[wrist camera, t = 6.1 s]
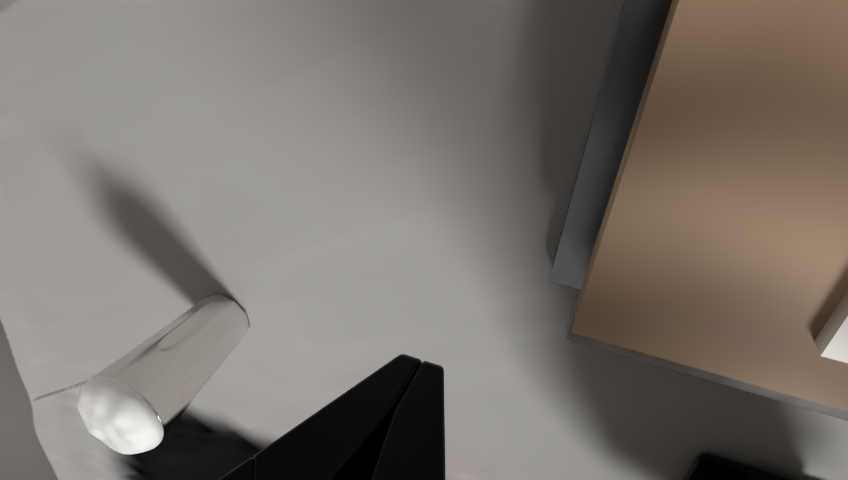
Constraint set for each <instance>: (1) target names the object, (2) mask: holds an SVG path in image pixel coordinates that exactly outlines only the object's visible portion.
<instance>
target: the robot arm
mask: <svg viewBox="0 0 848 480" xmlns="http://www.w3.org/2000/svg"><path fill="white" fill-rule="evenodd" d="M218 480H445V425H444V370H443V367H442V366H440V365H436V364H433V363H430V362H427V361H424V362H421V360H420V359H418V358H414V357H411V356H408V355H405V354H401V355H399V356H397V357H396V358H394V359H393V360H392V361H390V362H389V363H387V364H386V365H384V366H383V367H381V368H380V369H379V370H377V371H376V372H374V373H373V374H371V375H370V376H368V377H367V378H366V379H364V380H363V381H361V382H360V383H358V384H357V385H355V386H354V387H353V388H351V389H350V390H348V391H347V392H345V393H344V394H342V395H341V396H340V397H338V398H337V399H335V400H334V401H332V402H331V403H329V404H328V405H326V406H325V407H324V408H322V409H321V410H319V411H318V412H316V413H315V414H313V415H312V416H311V417H309V418H308V419H306V420H305V421H303V422H302V423H300V424H299V425H298V426H296V427H295V428H293V429H292V430H290V431H289V432H287V433H286V434H285V435H283V436H282V437H280V438H279V439H277V440H276V441H274V442H273V443H272V444H270V445H269V446H267V447H266V448H264V449H263V450H261V451H260V452H259V453H257V454H256V455H255V456H254V459H253V458H249V459H248V460H247V461H245V462H244V463H242V464H241V465H239V466H238V467H237V468H235V469H234V470H232V471H231V472H229V473H228V474H226V475H225V476H223V477H222V478H220V479H218ZM684 480H789V479H785V478H782V477H779V476H776V475H773V474H770V473H767V472H764V471H760V470H757V469H754V468H751V467H748V466H745V465H742V464H739V463H735V462H732V461H729V460H726V459H723V458H720V457H717V456H714V455H710V454H702V455H699V456H698V457H697V458H696V460H695V462H694V463H693V465H692V467H691V468H690V470H689V472H688V473H687V475H686V477H685V478H684Z"/></svg>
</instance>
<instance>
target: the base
mask: <svg viewBox="0 0 848 480" xmlns="http://www.w3.org/2000/svg"><path fill="white" fill-rule="evenodd" d="M671 3H672V0H626V1H625V4H624V8H623V12H622V15H621V19H620V23H619V26H618V30H617V33H616V37H615V41H614V44H613V48H612V52H611V55H610V59H609V63H608V66H607V70H606V74H605V77H604V81H603V85H602V88H601V92H600V96H599V99H598V103H597V106H596V110H595V114H594V117H593V121H592V125H591V128H590V132H589V136H588V139H587V143H586V147H585V150H584V154H583V158H582V161H581V165H580V168H579V172H578V176H577V179H576V183H575V187H574V190H573V194H572V198H571V201H570V205H569V209H568V212H567V216H566V220H565V223H564V227H563V230H562V234H561V238H560V241H559V245H558V249H557V252H556V256H555V260H554V263H553V267H552V271H551V276H550V280H549V281H550V282H554V283H558V284H561V285H565V286H569V287H573V288H576V289H580V290H581V287H582V284H583V281H584V277H585V274H586V271H587V268H588V265H589V262H590V258H591V255H592V252H593V249H594V246H595V243H596V240H597V236H598V233H599V230H600V227H601V224H602V221H603V218H604V214H605V211H606V208H607V205H608V202H609V199H610V195H611V192H612V189H613V186H614V183H615V180H616V177H617V173H618V170H619V167H620V164H621V161H622V158H623V155H624V151H625V148H626V145H627V142H628V139H629V136H630V132H631V129H632V126H633V123H634V120H635V117H636V114H637V110H638V107H639V104H640V101H641V98H642V95H643V92H644V88H645V85H646V82H647V79H648V76H649V73H650V69H651V66H652V63H653V60H654V57H655V54H656V51H657V47H658V44H659V41H660V38H661V35H662V32H663V28H664V25H665V22H666V19H667V16H668V13H669V10H670V6H671Z"/></svg>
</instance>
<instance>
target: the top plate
mask: <svg viewBox="0 0 848 480" xmlns="http://www.w3.org/2000/svg"><path fill="white" fill-rule="evenodd" d="M566 339H568V340H571V341H575V342H578V343H581V344H585V345H588V346H592V347H595V348H599V349H602V350H606V351H609V352H613V353H616V354H619V355H623V356H626V357H630V358H633V359H637V360H640V361H644V362H647V363H650V364H654V365H657V366H661V367H664V368H668V369H671V370H675V371H678V372H681V373H685V374H688V375H692V376H695V377H699V378H702V379H706V380H709V381H712V382H716V383H719V384H723V385H726V386H730V387H733V388H737V389H740V390H743V391H747V392H750V393H754V394H757V395H761V396H764V397H768V398H771V399H774V400H778V401H781V402H785V403H788V404H792V405H795V406H799V407H802V408H805V409H809V410H812V411H816V412H819V413H823V414H826V415H830V416H833V417H836V418H840V419H843V420H847V421H848V0H672V3H671V6H670V10H669V13H668V16H667V19H666V22H665V25H664V28H663V32H662V35H661V38H660V41H659V44H658V47H657V51H656V54H655V57H654V60H653V63H652V66H651V69H650V73H649V76H648V79H647V82H646V85H645V88H644V92H643V95H642V98H641V101H640V104H639V107H638V110H637V114H636V117H635V120H634V123H633V126H632V129H631V132H630V136H629V139H628V142H627V145H626V148H625V151H624V155H623V158H622V161H621V164H620V167H619V170H618V173H617V177H616V180H615V183H614V186H613V189H612V192H611V195H610V199H609V202H608V205H607V208H606V211H605V214H604V218H603V221H602V224H601V227H600V230H599V233H598V236H597V240H596V243H595V246H594V249H593V252H592V255H591V258H590V262H589V265H588V268H587V271H586V274H585V277H584V281H583V284H582V287H581V290H580V293H579V295H577V297H576V299H575V302H574V305H573V309H572V312H571V316H570V320H569V324H568V329H567V334H566Z"/></svg>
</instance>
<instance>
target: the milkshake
mask: <svg viewBox="0 0 848 480" xmlns="http://www.w3.org/2000/svg"><path fill="white" fill-rule="evenodd" d="M249 328H250V326H249V322H248V319H247V315H246V313H245V312H244V311H243V310H242V308H241V307H240V306H239V305H238V304H237V303H236V302H235V301H234V300H232V299H229V298H227V297H225V296H223V295H221V294H219V295H213V296H207V297H206V298H204V299H203V300H201V301H200V302H199V303H197V304H196V305H194V306H193V307H192V308H190V309H189V310H187V311H186V312H185V313H183V314H182V315H180V316H179V317H178V318H176V319H175V320H173V321H172V322H171V323H169V324H168V325H166V326H165V327H164V328H162V329H161V330H160V331H158V332H157V333H155V334H154V335H153V336H151V337H150V338H148V339H147V340H146V341H144V342H143V343H142V344H140V345H139V346H137V347H136V348H134V349H133V350H132V351H130V352H129V353H127V354H126V355H124V356H123V357H121V358H120V359H118V360H117V361H115V362H114V363H112V364H111V365H109V366H108V367H106V368H105V369H103V370H102V371H100V372H99V373H97V374H96V375H94V376H93V377H92V378H90V379H89V380H87V381H85V382H82V383H79V384H76V385H73V386H70V387H67V388H64V389H61V390H58V391H55V392H52V393H49V394H46V395H43V396H40V397H37V398H35V399H34V400H33V401H36V400H39V399H42V398H45V397H48V396H51V395H54V394H57V393H60V392H63V391H66V390H69V389H72V388H75V387H78V386H81V385H82V387H81V389H80V392H79V396H78V410H79V412H80V414H81V417H82V419H83V421H84V423H85V425H86V427H87V429H88V431H89V432H90V433H91V434H92V435H93V436H95V437H96V438H98V439H99V440H101V441H102V442H104V443H105V444H106V445H107V446H109V447H110V448H111V449H113V450H115V451H117V452H119V453H122V454H137V453H142V452H145V451H148V450H151V449H153V448H155V447H156V446H157V445H158V444H159V443H160V442H161V441H162V440H163V438H164V437H165V436H166V435H167V433H168V432H169V431H170V429H171V428H172V427H173V426H174V424H175V423H176V422H177V420H178V419H179V418H180V416H181V415H182V414H183V413H184V411H185V410H186V409H187V407H188V406H189V405H190V403H191V402H192V401H193V399H194V398H195V396H196V395H197V394H198V393H199V391H200V390H201V389H202V388H203V387H204V385H205V384H206V383H207V382H208V380H209V379H210V378H211V377H212V376H213V374H214V373H215V372H216V371H217V369H218V368H219V367H220V366H221V365H222V363H223V362H224V361H225V360H226V359H227V357H228V356H229V355H230V354H231V352H232V351H233V350H234V349H235V348H236V346H237V345H238V344H239V343H240V342H241V340H242V339H243V338H244V336H245V335H246V333H247V331H248V329H249Z"/></svg>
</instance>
